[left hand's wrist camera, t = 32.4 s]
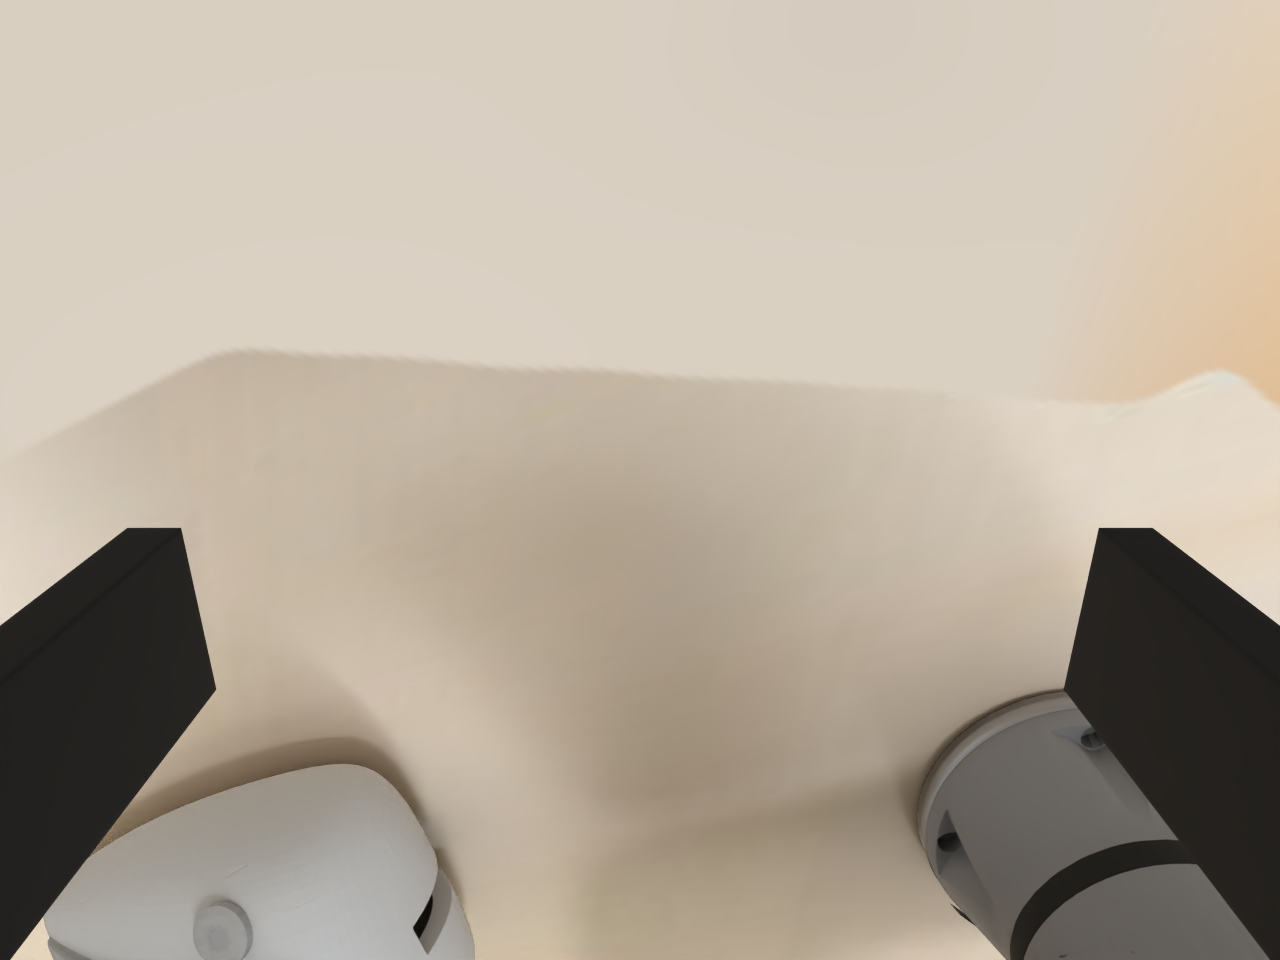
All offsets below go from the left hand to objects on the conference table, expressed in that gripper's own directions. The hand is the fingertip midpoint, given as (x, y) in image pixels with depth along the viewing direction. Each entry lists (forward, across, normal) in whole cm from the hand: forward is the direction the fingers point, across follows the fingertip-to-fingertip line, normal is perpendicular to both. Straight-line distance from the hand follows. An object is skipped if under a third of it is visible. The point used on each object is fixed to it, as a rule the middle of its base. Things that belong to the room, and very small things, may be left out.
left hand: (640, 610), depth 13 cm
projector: (+27, -21, -34) cm, 48 cm away
